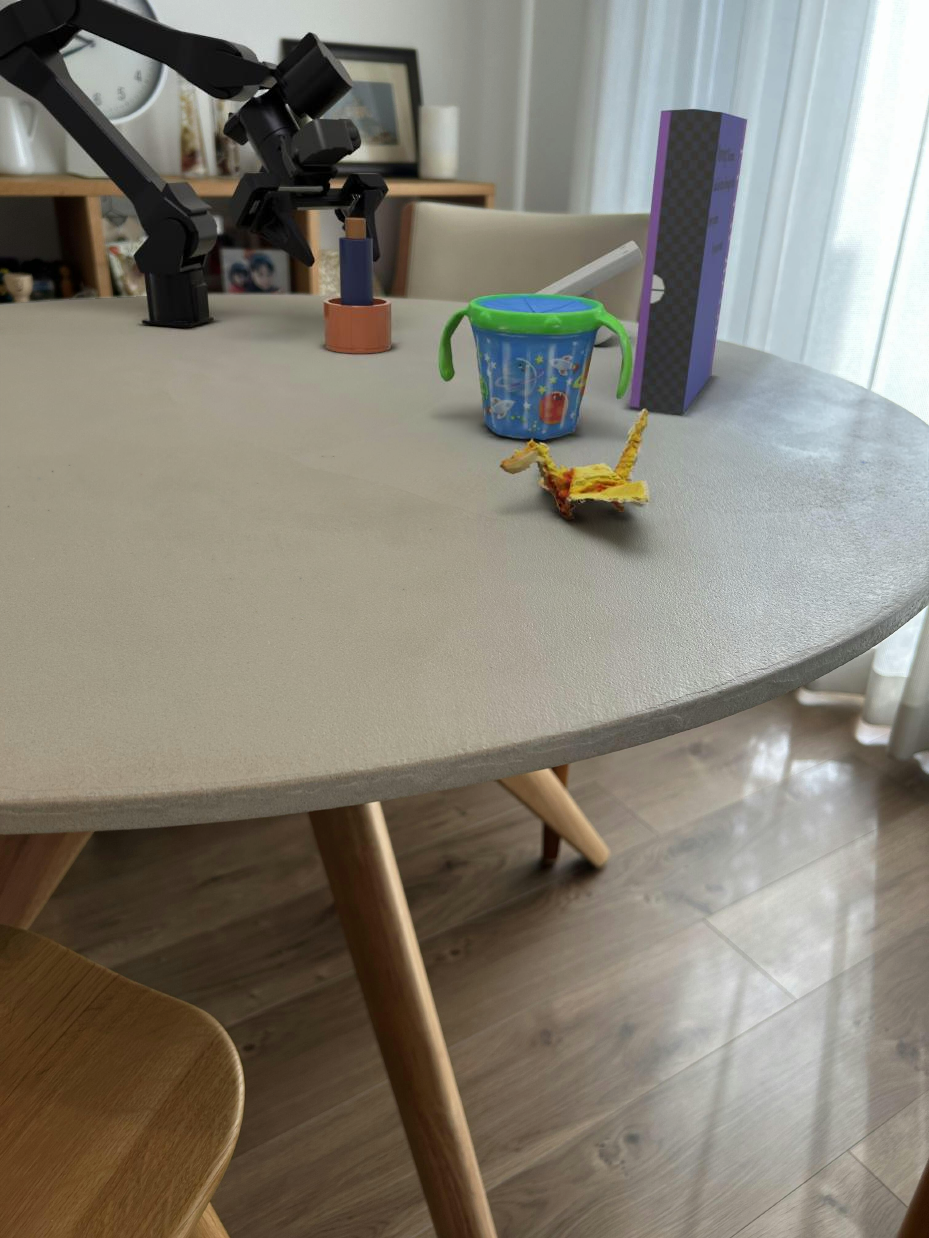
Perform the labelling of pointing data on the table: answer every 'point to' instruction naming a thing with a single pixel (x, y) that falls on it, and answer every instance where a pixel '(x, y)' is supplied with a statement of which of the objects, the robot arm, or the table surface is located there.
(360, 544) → the table surface
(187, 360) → the table surface
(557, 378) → the snack cup
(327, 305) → the terracotta round pot
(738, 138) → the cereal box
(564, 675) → the table surface
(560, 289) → the door handle
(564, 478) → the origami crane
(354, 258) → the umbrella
